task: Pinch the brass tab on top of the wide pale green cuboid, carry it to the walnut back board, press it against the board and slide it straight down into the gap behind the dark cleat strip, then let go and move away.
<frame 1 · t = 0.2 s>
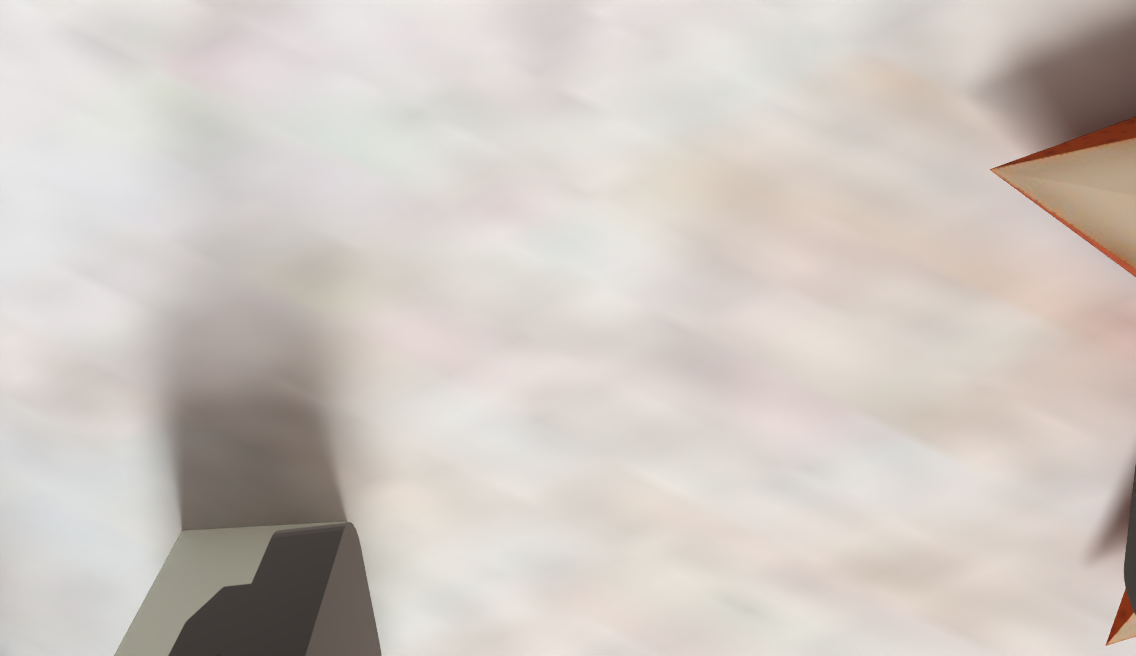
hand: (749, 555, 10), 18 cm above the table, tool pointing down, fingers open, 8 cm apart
wide pale green cuboid: (287, 654, 32), on the table
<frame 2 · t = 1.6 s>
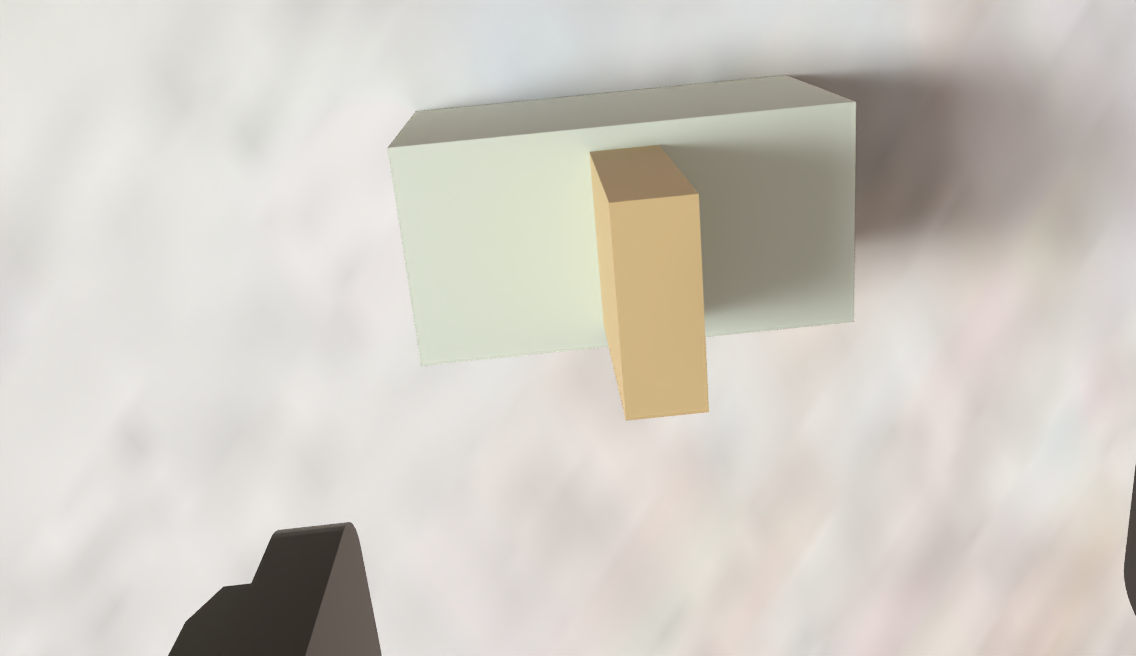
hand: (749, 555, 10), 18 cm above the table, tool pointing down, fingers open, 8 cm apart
wide pale green cuboid: (608, 184, 27), on the table
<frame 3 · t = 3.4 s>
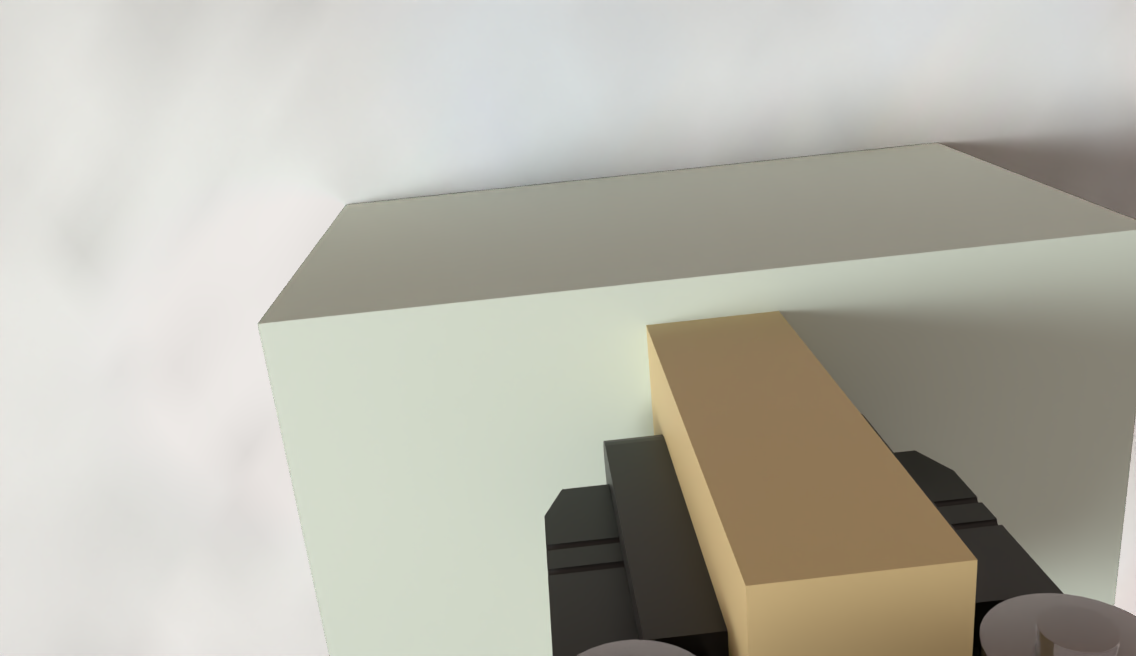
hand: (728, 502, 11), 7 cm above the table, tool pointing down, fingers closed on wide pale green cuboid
wide pale green cuboid: (652, 313, 17), on the table, touching gripper
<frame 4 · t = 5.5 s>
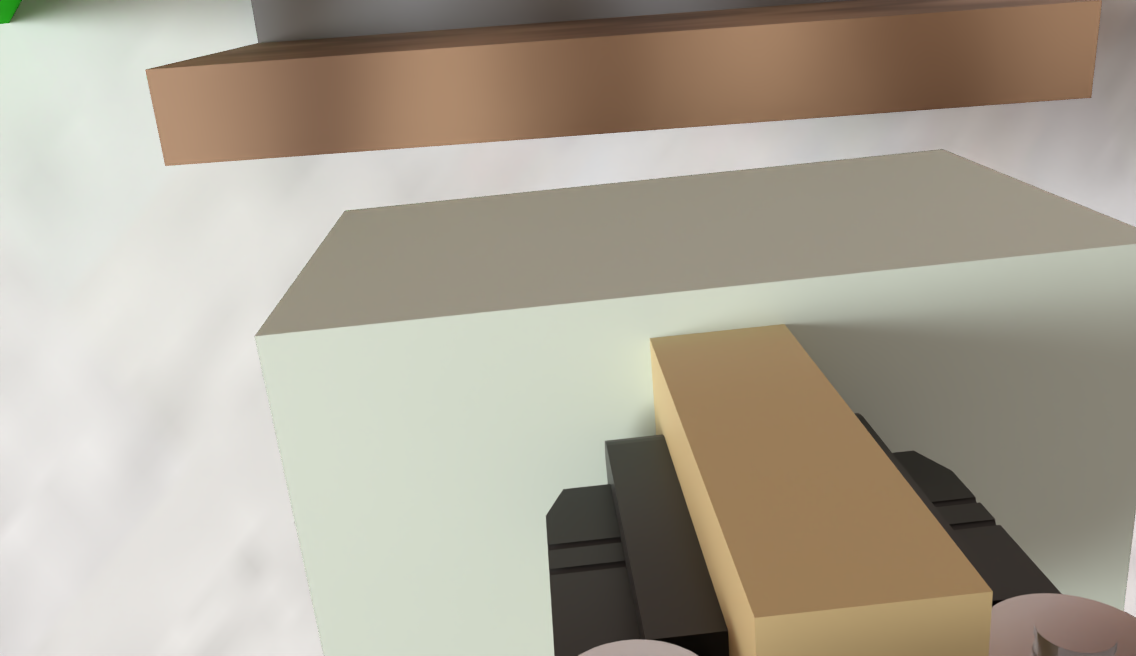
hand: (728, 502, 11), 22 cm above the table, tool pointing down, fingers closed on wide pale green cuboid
wide pale green cuboid: (654, 321, 17), point 15 cm above the table, touching gripper
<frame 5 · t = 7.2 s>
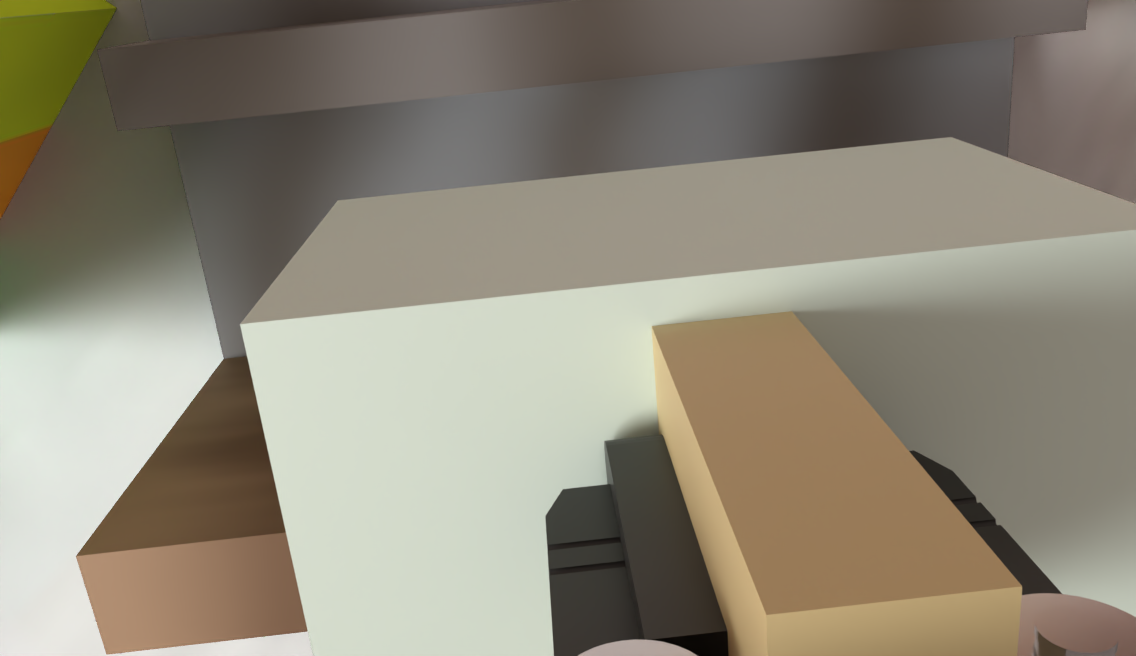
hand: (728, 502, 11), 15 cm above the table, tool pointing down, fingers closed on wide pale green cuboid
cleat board: (601, 188, 25), on the table
wide pale green cuboid: (655, 313, 17), point 9 cm above the table, touching gripper
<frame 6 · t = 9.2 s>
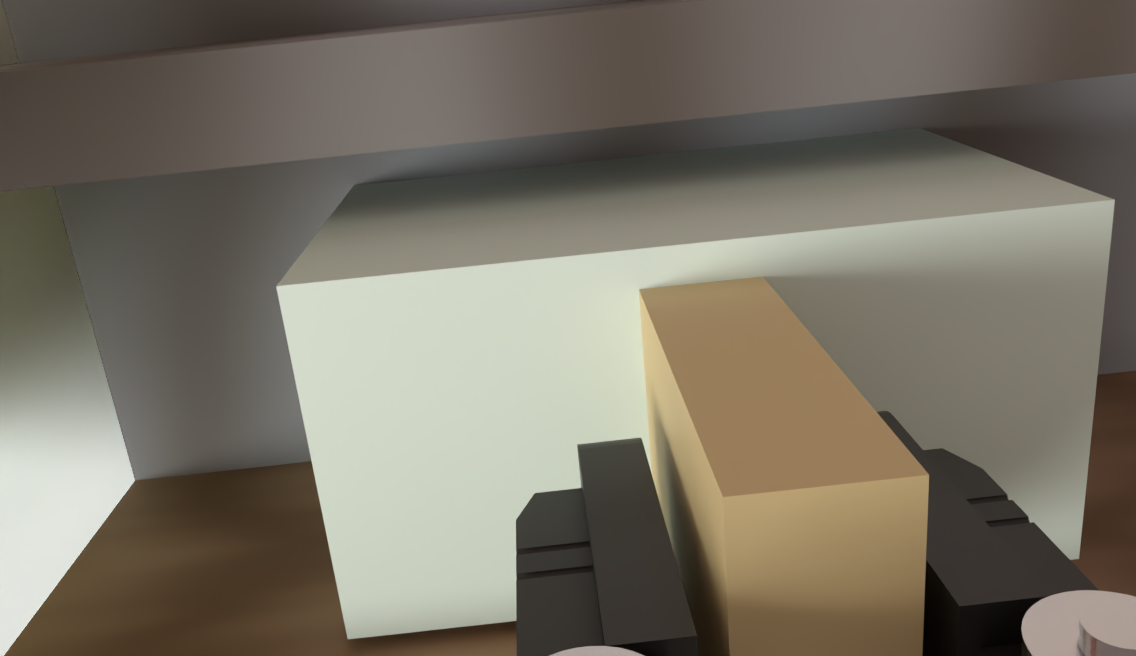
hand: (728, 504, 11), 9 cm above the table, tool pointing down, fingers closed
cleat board: (634, 256, 19), on the table
wide pale green cuboid: (647, 291, 18), point 1 cm above the table, touching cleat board
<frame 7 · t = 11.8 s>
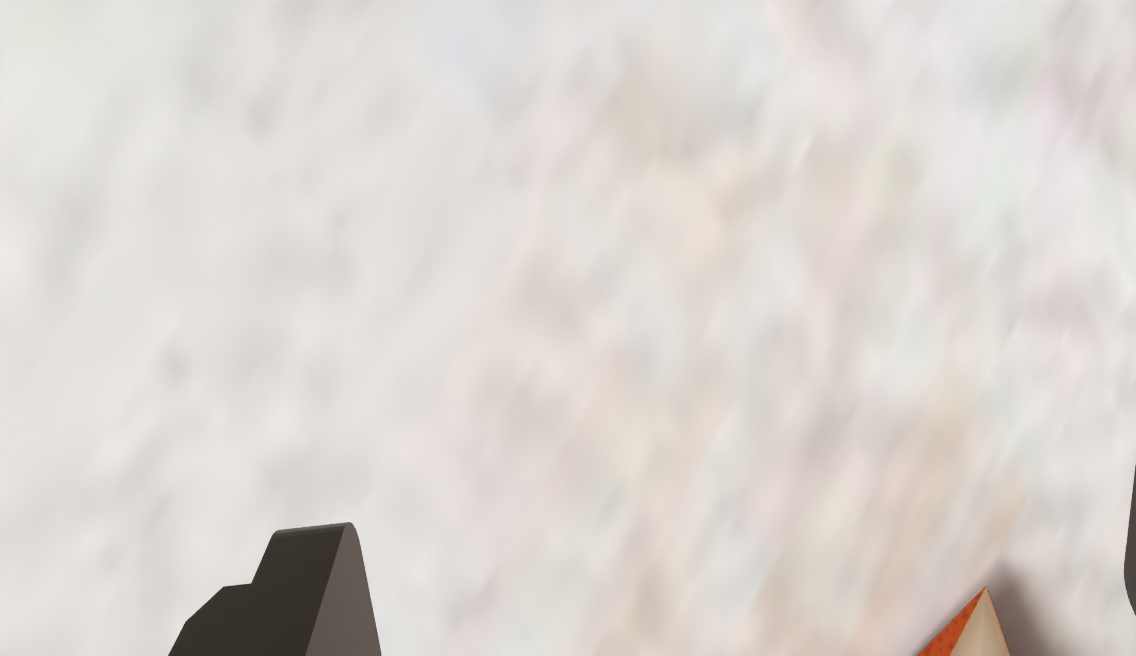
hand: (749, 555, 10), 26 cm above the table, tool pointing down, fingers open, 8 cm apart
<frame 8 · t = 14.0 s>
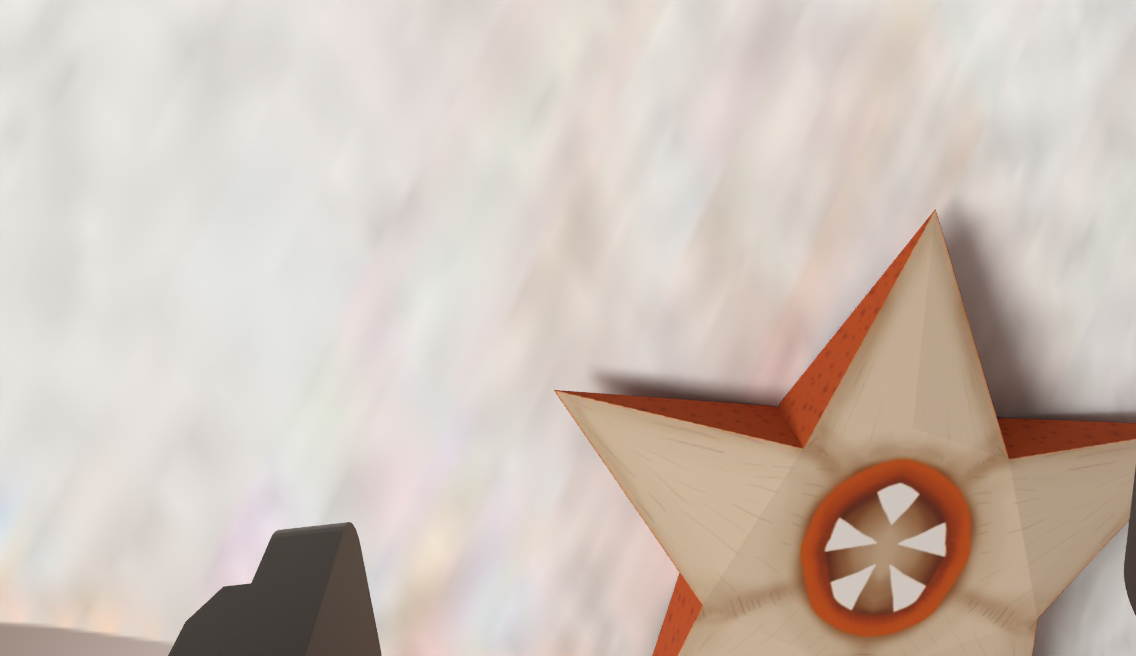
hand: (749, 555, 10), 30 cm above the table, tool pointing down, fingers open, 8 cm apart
decorative star: (848, 516, 45), on the table
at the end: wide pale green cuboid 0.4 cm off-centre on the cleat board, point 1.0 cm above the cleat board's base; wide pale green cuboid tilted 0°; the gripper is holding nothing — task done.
